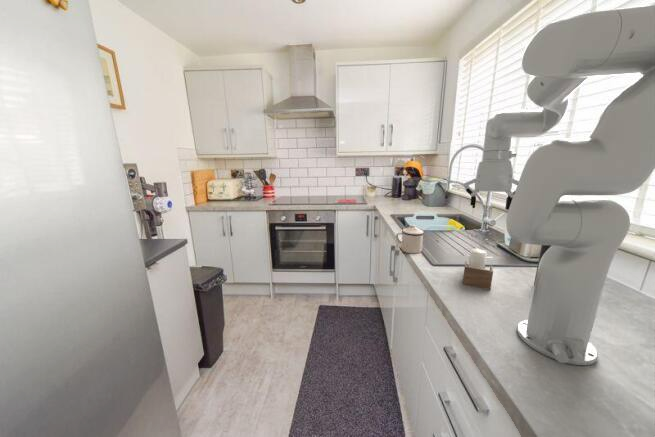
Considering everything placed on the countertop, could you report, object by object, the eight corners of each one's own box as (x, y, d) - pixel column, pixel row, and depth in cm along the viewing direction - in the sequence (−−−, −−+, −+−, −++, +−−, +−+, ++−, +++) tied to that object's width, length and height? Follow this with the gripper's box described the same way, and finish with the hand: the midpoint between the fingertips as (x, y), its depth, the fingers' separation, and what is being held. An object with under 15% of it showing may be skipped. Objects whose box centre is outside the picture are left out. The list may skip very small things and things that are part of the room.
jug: (484, 276, 82) (487, 254, 81) (467, 273, 85) (470, 252, 83) (483, 268, 89) (486, 247, 87) (467, 265, 91) (470, 245, 90)
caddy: (490, 289, 74) (493, 271, 73) (462, 284, 78) (465, 266, 76) (489, 282, 78) (491, 265, 77) (463, 277, 82) (465, 261, 80)
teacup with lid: (424, 249, 109) (427, 224, 106) (418, 255, 102) (420, 229, 99) (399, 244, 116) (400, 220, 113) (391, 249, 109) (392, 224, 106)
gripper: (527, 156, 78) (519, 208, 81) (466, 158, 87) (461, 205, 90) (532, 155, 72) (524, 212, 75) (465, 157, 80) (460, 208, 83)
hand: (489, 208), depth 82 cm, fingers open, 9 cm apart
